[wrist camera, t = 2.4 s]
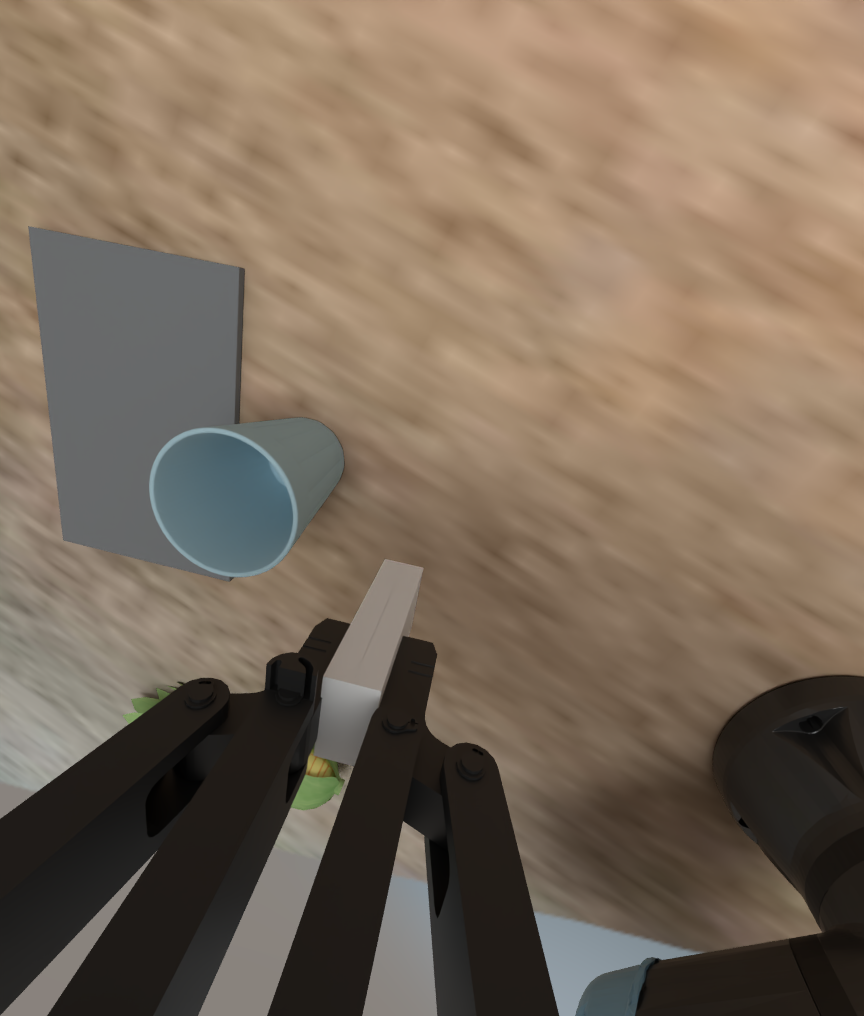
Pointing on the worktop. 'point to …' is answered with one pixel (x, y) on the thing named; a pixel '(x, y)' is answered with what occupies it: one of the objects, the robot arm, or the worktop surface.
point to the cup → (243, 491)
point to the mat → (130, 377)
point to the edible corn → (317, 779)
